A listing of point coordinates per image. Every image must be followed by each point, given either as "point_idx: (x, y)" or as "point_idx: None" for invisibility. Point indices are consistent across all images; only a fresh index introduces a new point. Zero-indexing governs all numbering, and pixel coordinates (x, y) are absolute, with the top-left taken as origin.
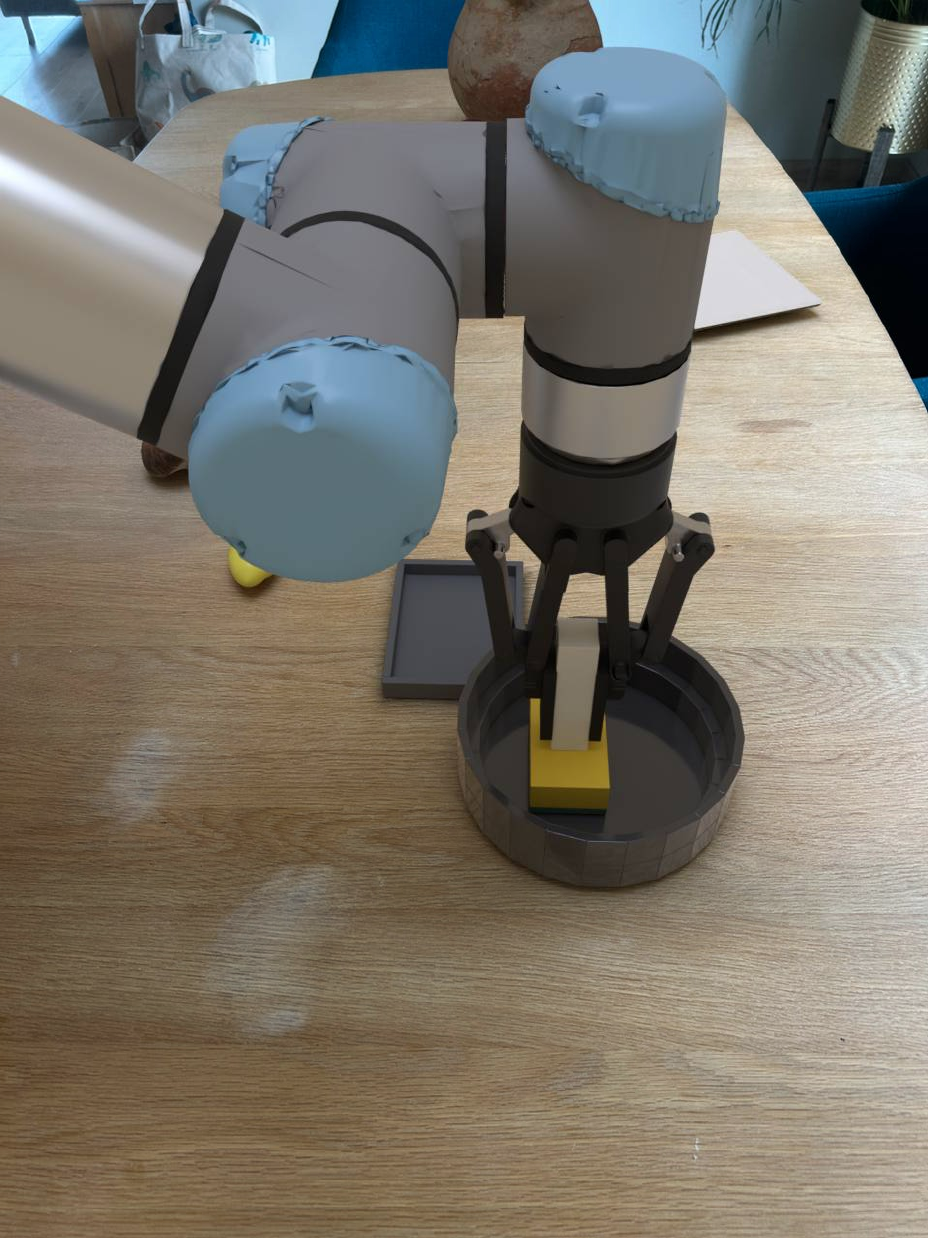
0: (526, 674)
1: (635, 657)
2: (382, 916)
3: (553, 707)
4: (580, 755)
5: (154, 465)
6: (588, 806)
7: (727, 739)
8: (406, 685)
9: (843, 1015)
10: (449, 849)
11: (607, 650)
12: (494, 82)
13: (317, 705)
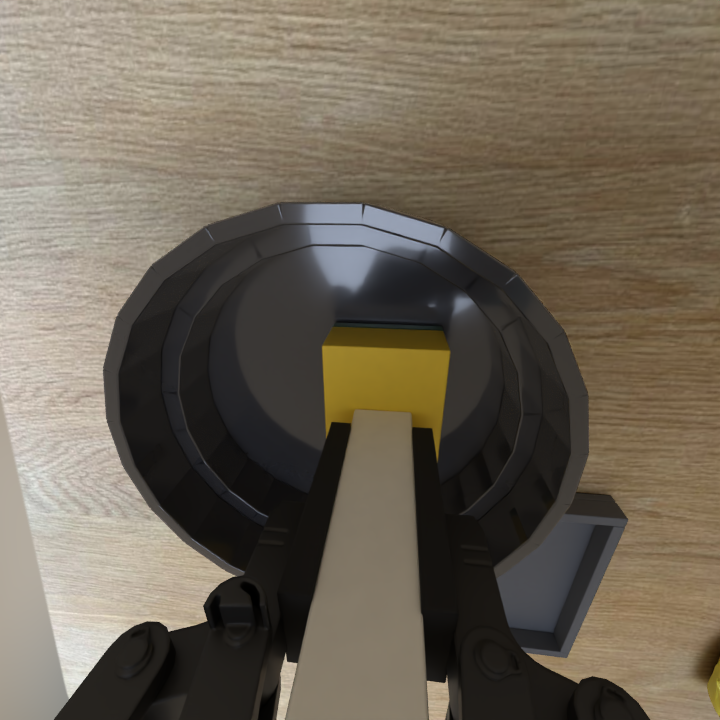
0: (495, 596)
1: (196, 649)
2: (700, 145)
3: (417, 493)
4: (365, 402)
5: None
6: (357, 329)
7: (158, 419)
8: (591, 512)
9: (7, 5)
10: (561, 273)
11: (284, 647)
12: None
13: (706, 490)
